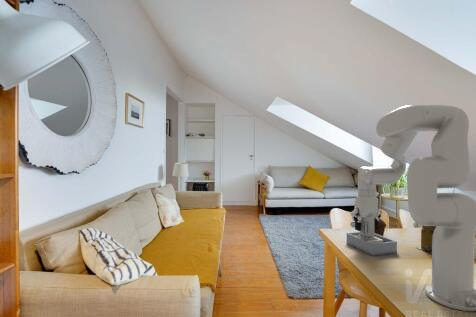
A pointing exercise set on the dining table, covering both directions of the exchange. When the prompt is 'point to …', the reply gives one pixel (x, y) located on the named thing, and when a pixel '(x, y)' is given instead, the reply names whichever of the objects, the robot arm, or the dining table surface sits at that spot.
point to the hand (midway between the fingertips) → (366, 229)
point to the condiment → (427, 238)
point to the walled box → (372, 244)
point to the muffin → (380, 228)
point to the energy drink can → (367, 228)
